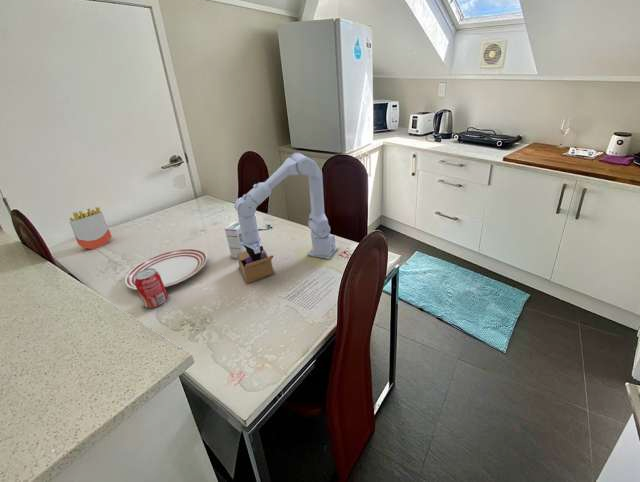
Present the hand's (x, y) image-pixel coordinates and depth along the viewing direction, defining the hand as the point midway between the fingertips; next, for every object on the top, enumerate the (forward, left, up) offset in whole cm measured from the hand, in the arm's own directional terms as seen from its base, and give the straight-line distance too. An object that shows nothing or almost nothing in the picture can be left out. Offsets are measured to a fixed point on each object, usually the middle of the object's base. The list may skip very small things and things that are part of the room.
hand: (255, 260), depth 118 cm
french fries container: (+85, +4, -6) cm, 85 cm away
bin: (+2, -2, -6) cm, 7 cm away
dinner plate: (+34, +10, -6) cm, 36 cm away
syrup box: (+16, -9, -6) cm, 19 cm away
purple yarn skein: (0, 0, -2) cm, 2 cm away
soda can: (+24, +24, -6) cm, 34 cm away
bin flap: (-4, +3, +2) cm, 6 cm away
